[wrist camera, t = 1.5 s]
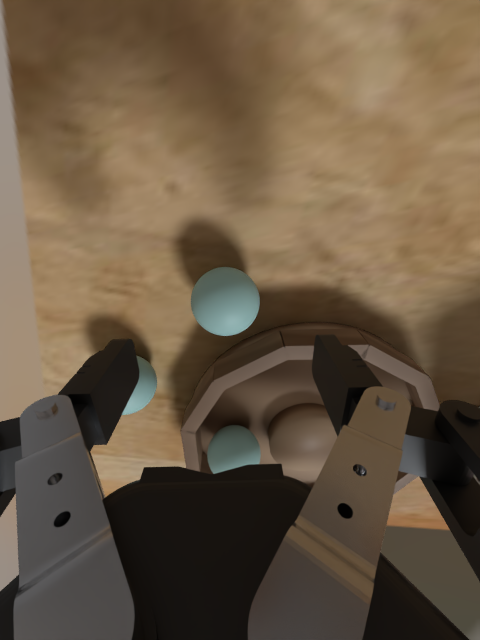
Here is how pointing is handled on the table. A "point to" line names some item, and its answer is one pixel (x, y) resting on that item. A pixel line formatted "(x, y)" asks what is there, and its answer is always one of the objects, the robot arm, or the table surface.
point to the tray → (289, 396)
